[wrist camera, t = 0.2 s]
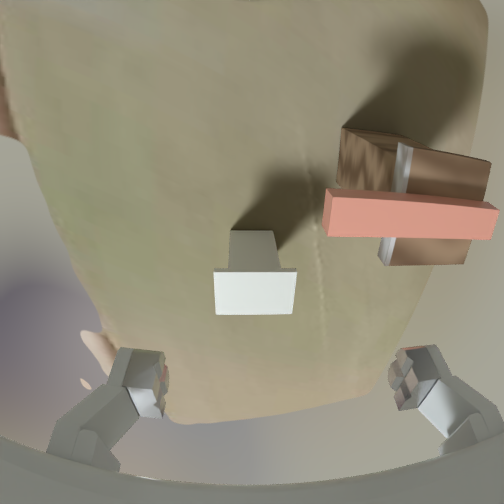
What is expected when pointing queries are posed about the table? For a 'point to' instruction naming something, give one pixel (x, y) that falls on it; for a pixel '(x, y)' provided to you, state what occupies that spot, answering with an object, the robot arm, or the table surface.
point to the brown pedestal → (411, 186)
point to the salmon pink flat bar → (405, 215)
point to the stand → (254, 277)
